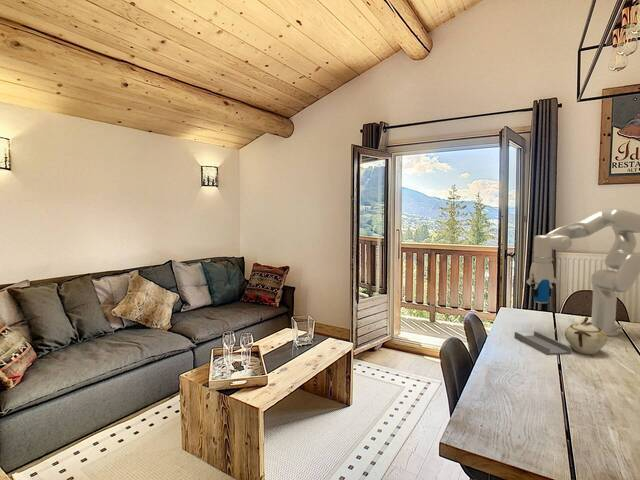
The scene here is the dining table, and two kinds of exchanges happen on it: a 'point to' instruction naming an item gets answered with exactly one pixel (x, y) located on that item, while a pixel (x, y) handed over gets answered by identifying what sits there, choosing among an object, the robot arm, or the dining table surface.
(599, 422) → the dining table surface
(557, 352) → the tray
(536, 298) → the beverage can
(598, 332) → the sugar bowl
